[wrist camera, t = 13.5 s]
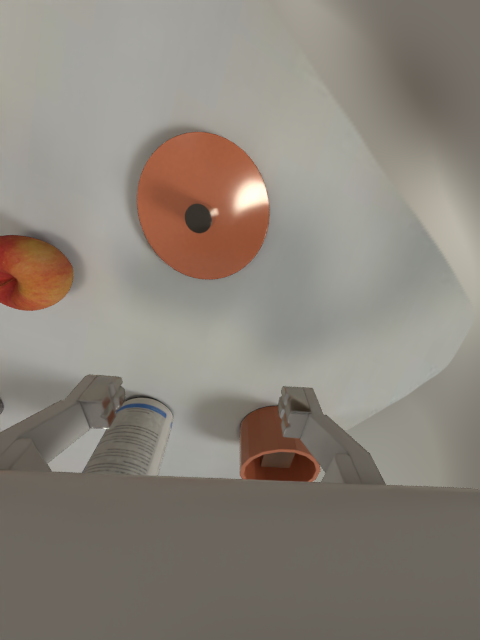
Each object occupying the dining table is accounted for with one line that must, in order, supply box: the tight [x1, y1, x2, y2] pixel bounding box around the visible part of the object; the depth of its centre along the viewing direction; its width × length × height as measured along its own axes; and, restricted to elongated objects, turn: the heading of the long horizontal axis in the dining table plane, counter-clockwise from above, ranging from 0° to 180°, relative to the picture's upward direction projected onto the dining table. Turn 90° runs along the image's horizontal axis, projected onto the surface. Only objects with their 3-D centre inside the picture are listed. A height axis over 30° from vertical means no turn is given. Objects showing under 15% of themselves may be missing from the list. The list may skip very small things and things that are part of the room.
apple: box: [0, 235, 73, 311], centre depth 22 cm, size 7×7×8 cm
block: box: [260, 452, 295, 468], centre depth 38 cm, size 5×5×5 cm
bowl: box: [240, 406, 320, 482], centre depth 37 cm, size 12×12×8 cm
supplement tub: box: [82, 398, 173, 476], centre depth 32 cm, size 10×10×15 cm
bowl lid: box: [137, 132, 269, 279], centre depth 21 cm, size 13×13×5 cm
